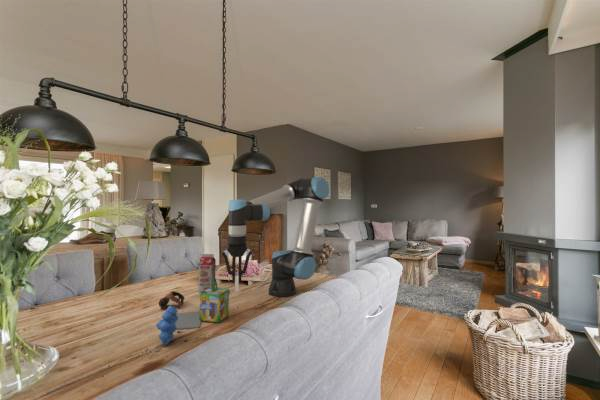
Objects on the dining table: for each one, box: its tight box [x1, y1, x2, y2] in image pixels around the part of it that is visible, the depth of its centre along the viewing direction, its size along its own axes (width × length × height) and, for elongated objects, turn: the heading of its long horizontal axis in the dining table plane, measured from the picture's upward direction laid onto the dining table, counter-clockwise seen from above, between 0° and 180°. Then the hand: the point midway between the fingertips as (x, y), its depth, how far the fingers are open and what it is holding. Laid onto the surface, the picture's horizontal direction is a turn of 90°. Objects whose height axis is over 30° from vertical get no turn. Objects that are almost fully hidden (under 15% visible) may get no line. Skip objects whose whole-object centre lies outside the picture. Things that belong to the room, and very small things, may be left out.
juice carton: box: [197, 253, 216, 299], centre depth 154 cm, size 7×7×22 cm
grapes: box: [155, 305, 179, 346], centre depth 102 cm, size 12×7×12 cm, turn 3°
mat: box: [159, 311, 202, 332], centre depth 120 cm, size 14×17×1 cm
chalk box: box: [199, 281, 230, 323], centre depth 123 cm, size 9×9×15 cm
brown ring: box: [158, 291, 185, 310], centre depth 134 cm, size 12×10×8 cm
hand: (236, 290), depth 125 cm, fingers closed
